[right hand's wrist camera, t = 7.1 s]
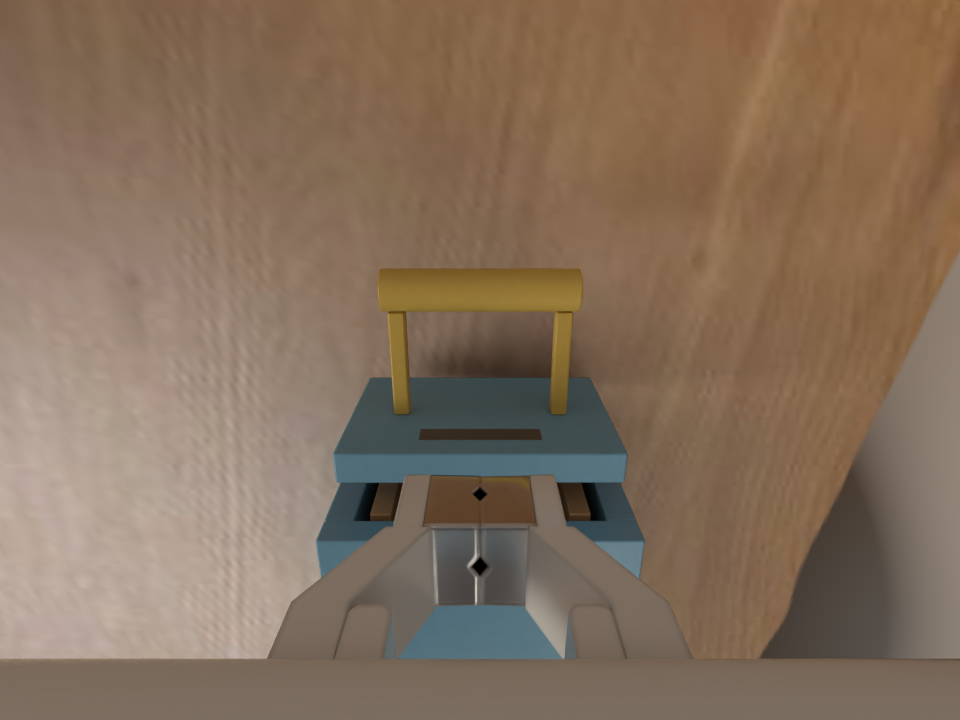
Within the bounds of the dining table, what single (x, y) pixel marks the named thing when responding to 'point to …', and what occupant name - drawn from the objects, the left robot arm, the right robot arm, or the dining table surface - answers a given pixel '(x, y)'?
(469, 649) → the cabinet
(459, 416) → the drawer
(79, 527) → the dining table surface
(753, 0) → the dining table surface
